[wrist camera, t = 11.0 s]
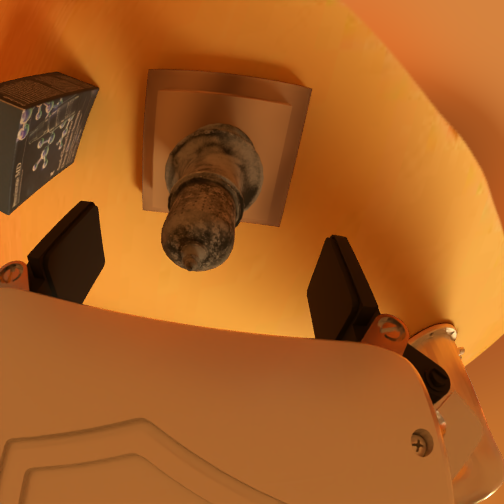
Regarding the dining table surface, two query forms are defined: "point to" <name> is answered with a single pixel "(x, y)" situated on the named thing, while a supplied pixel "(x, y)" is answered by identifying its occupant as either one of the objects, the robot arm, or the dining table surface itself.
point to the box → (39, 131)
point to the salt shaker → (208, 194)
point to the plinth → (226, 112)
